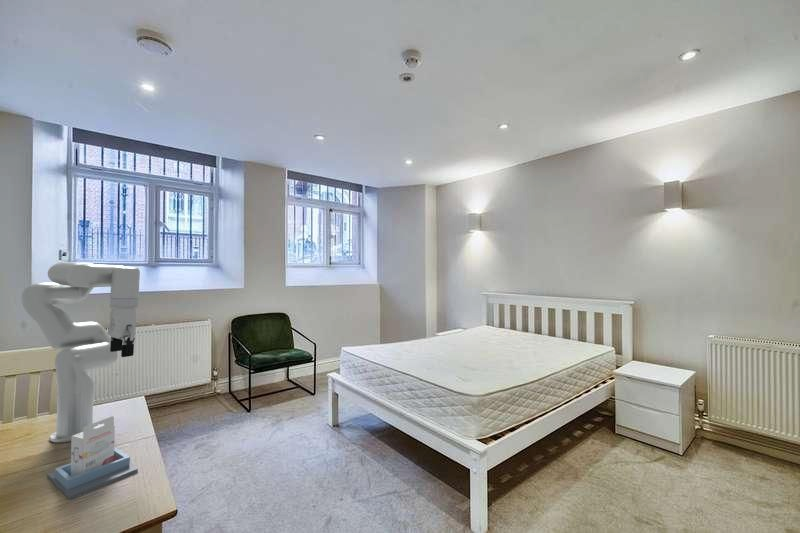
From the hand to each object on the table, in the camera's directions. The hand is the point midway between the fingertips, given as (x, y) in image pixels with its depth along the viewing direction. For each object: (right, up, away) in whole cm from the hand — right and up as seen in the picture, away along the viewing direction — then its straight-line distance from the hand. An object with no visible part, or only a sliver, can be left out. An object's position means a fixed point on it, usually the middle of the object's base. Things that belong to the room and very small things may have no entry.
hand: (121, 353), depth 117 cm
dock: (+5, -31, -16) cm, 36 cm away
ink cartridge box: (+4, -30, -16) cm, 35 cm away
